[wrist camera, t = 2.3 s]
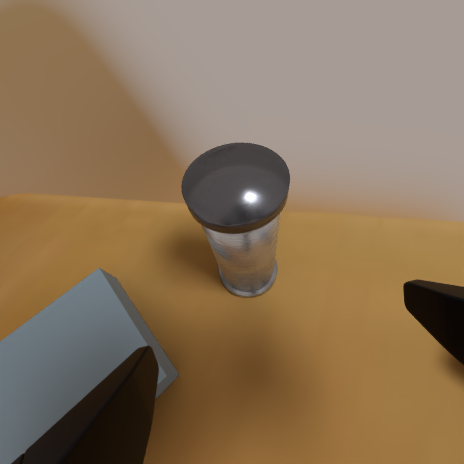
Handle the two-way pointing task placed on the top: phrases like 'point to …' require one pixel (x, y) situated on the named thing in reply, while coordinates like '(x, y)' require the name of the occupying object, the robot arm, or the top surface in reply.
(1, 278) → the top surface
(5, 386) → the stand
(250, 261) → the glass shaker
